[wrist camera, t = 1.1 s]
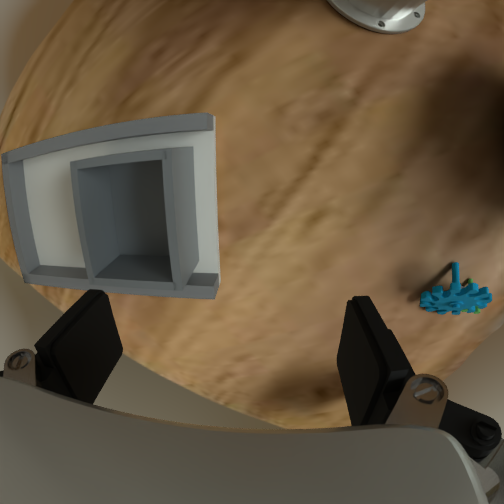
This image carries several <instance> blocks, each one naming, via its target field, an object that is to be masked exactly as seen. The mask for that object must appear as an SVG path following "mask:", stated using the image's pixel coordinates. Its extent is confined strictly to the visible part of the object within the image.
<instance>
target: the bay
mask: <svg viewBox="0 0 504 504" xmlns="http://www.w3.org/2000/svg"><path fill="white" fill-rule="evenodd" d="M192 146H193V149H194V179H195V201H196V219H197V235H198V249H199V262H198V264H197V266H196V268H195V269H194V271H193V273H192V275H191V277H190V278H189V280H188V282H187V284H186V286H185V288H184V290H183V291H175V290H157V289H141V288H127V287H114V286H101V285H90V284H89V280H88V276H87V271H86V267H85V262H84V258H83V253H82V248H81V243H80V238H79V232H78V226H77V220H76V213H75V206H74V199H73V191H72V181H71V170H70V162H71V161H76V160H81V159H86V158H92V157H98V156H104V155H110V154H118V153H126V152H134V151H143V150H153V149H164V148H176V147H192ZM1 157H2V170H3V181H4V190H5V197H6V204H7V210H8V216H9V222H10V227H11V232H12V237H13V241H14V245H15V250H16V254H17V258H18V261H19V265H20V269H21V272H22V276H23V279H24V282H25V283H29V284H37V285H45V286H53V287H61V288H70V289H79V290H89V289H98V290H103V291H104V292H110V293H121V294H134V295H147V296H162V297H178V298H196V299H215V297H216V294H217V291H218V288H219V285H220V282H221V280H220V261H219V240H218V216H217V185H216V139H215V116H213V115H211V114H209V113H194V114H183V115H173V116H164V117H155V118H148V119H141V120H134V121H128V122H122V123H116V124H110V125H105V126H100V127H95V128H91V129H86V130H82V131H77V132H73V133H69V134H65V135H61V136H57V137H54V138H50V139H46V140H43V141H39V142H36V143H33V144H30V145H26V146H23V147H20V148H17V149H14V150H11V151H9V152H6V153H3V154H1Z"/></svg>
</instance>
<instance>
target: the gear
mask: <svg viewBox="0 0 504 504" xmlns="http://www.w3.org/2000/svg"><path fill="white" fill-rule="evenodd" d="M491 301H492V294H491V293H489V289H488V287H483V288H480V289H478V284H476V283H473V279H468V286H466V287H463V286H461V283H460V282H459V263H457V262H455V263H452V283H451V284H450V289H449V290H448V291H443V286H434V287H432V294H431V292H429V291H425V292H423V293H421V299H420V307H426V311H428V312H431V311H435V310H437V313H438V314H445V313H446V312H449V311H452V314H453V315H459V314H460V311H462V312H466V311H467V313H471V312H474V314H478V313H480V309H482V308H485V307H487V303H490V302H491Z"/></svg>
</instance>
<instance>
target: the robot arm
mask: <svg viewBox="0 0 504 504" xmlns="http://www.w3.org/2000/svg"><path fill="white" fill-rule="evenodd" d="M327 1H328V2H329V3H330V4H331V6H332V7H333V8H334V9H335V10H337V11H338V12H339V13H340V14H341V15H343V16H344V17H346V18H347V19H348V20H350V21H352V22H354V23H355V24H357V25H359V26H361V27H364V28H366V29H369V30H371V31H375V32H379V33H385V34H401V33H404V32H408V31H410V30H411V29H413V28H415V27H416V26H417V25H418V24H420V22H421V21H422V20H423V17H424V14H425V1H427V0H327ZM34 346H35V348H36V350H37V354H36V355H35V354H34V352H33V351H32V350H30V349H19V350H17V351H15V352H13V353H11V354H10V355H9V356H8V357H7V359H6V360H5V363H4V370H3V371H0V504H504V439H502V438H501V435H502V433H501V428H500V427H499V424H498V423H497V422H496V421H495V420H494V419H492V418H491V417H489V416H487V415H484V414H481V413H479V412H477V411H474V410H472V409H469V408H467V407H464V406H462V405H459V404H457V403H454V402H452V401H450V400H448V399H447V398H448V389H447V386H446V385H445V383H444V382H443V381H442V380H440V379H439V378H437V377H435V376H433V375H429V374H418V375H415V373H414V371H413V369H412V367H411V365H410V363H409V361H408V359H407V358H406V356H405V354H404V352H403V350H402V348H401V346H400V345H399V343H398V341H397V339H396V337H395V336H394V334H393V332H392V331H391V330H390V329H387V327H386V325H385V323H384V321H383V320H382V318H381V316H380V314H379V313H378V311H377V309H376V307H375V306H374V304H373V302H372V300H371V299H370V297H369V296H354V297H353V298H352V300H348V302H347V306H346V312H345V317H344V323H343V329H342V334H341V339H340V344H339V349H338V354H337V367H338V371H339V375H340V379H341V383H342V387H343V391H344V395H345V399H346V403H347V407H348V411H349V416H350V420H351V424H352V426H347V427H335V428H318V429H243V428H227V427H215V426H204V425H195V424H187V423H180V422H173V421H166V420H161V419H155V418H148V417H144V416H139V415H133V414H129V413H125V412H120V411H116V410H112V409H108V408H104V407H100V406H97V405H93V403H94V401H95V399H96V398H97V396H98V394H99V392H100V391H101V389H102V387H103V385H104V384H105V382H106V380H107V379H108V377H109V375H110V374H111V372H112V370H113V368H114V367H115V365H116V363H117V362H118V360H119V358H120V357H121V355H122V352H123V347H122V343H121V340H120V337H119V334H118V330H117V327H116V324H115V320H114V317H113V313H112V309H111V305H110V302H109V298H108V295H107V294H105V292H104V291H103V290H98V289H89V290H88V291H87V292H86V293H85V294H84V295H83V296H82V297H81V298H80V299H79V300H78V301H76V302H75V303H74V304H73V305H72V306H71V307H70V308H69V309H68V310H67V311H66V312H65V313H64V314H63V315H62V317H60V319H58V321H57V322H56V323H55V324H54V325H53V326H52V327H51V328H50V329H49V330H48V331H47V332H46V333H45V334H44V335H43V336H42V337H41V338H40V339H39V341H38V342H37V343H36V344H35V345H34Z"/></svg>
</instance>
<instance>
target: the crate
mask: <svg viewBox="0 0 504 504" xmlns="http://www.w3.org/2000/svg"><path fill="white" fill-rule="evenodd" d="M70 170H71V181H72V191H73V199H74V206H75V213H76V220H77V226H78V232H79V238H80V243H81V248H82V253H83V258H84V262H85V267H86V271H87V276H88V280H89V284H90V285H101V286H114V287H127V288H141V289H157V290H175V291H183V290H184V288H185V286H186V284H187V282H188V280H189V278H190V277H191V275H192V273H193V271H194V269H195V268H196V266H197V264H198V262H199V249H198V235H197V219H196V201H195V179H194V149H193V146H192V147H176V148H164V149H153V150H143V151H134V152H126V153H118V154H110V155H104V156H98V157H92V158H86V159H81V160H76V161H71V162H70Z"/></svg>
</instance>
